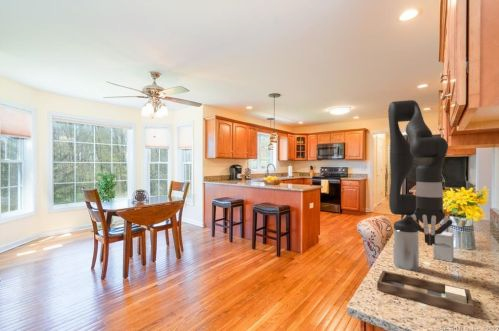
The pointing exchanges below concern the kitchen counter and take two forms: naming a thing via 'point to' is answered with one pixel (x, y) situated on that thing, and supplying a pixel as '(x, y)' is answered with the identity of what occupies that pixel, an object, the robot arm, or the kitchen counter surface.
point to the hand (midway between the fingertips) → (429, 244)
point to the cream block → (455, 294)
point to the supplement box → (443, 246)
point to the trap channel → (423, 292)
